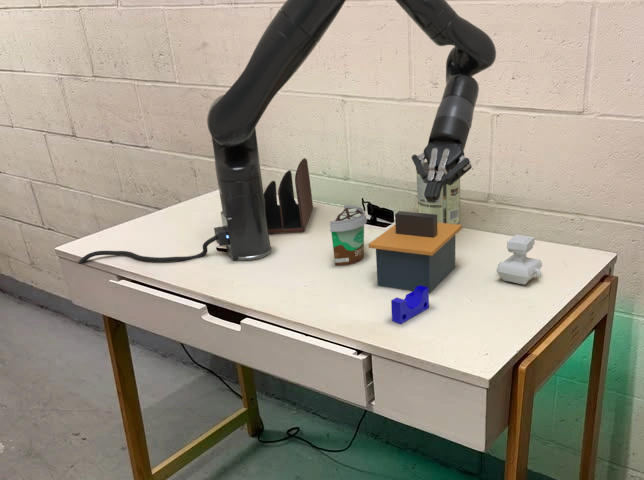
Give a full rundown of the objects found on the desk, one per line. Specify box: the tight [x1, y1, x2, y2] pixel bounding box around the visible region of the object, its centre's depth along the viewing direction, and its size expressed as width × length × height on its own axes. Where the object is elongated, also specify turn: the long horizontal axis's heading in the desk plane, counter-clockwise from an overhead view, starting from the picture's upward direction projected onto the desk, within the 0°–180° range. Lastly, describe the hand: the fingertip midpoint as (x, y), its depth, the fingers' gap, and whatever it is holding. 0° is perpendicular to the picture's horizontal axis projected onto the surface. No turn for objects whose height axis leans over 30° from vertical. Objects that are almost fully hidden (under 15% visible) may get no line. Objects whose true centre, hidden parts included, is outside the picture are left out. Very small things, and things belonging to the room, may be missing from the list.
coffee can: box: [415, 161, 461, 225], centre depth 163 cm, size 10×10×14 cm
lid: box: [368, 210, 463, 256], centre depth 134 cm, size 16×13×5 cm
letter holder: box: [263, 157, 314, 234], centre depth 171 cm, size 10×20×14 cm, turn 179°
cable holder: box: [390, 285, 430, 325], centre depth 123 cm, size 8×4×4 cm, turn 139°
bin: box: [375, 234, 456, 294], centre depth 137 cm, size 14×11×8 cm
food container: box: [329, 204, 368, 267], centre depth 147 cm, size 12×6×10 cm, turn 168°
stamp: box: [496, 234, 543, 286], centre depth 133 cm, size 9×7×8 cm
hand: (430, 200), depth 139 cm, fingers closed
